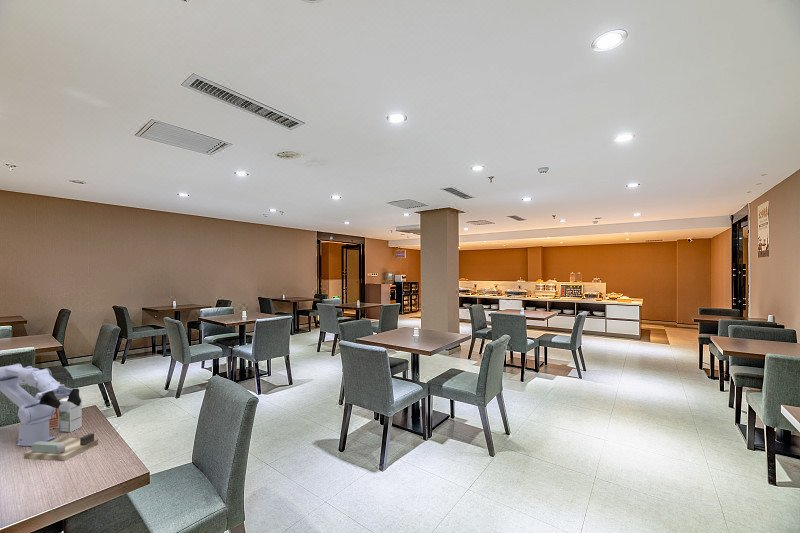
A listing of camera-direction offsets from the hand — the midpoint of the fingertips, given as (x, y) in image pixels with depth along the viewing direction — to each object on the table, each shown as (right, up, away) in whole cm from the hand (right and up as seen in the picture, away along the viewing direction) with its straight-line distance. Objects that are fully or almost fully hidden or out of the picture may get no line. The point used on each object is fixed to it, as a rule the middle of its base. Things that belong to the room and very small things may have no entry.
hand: (69, 404), depth 146 cm
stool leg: (-3, -16, -6) cm, 17 cm away
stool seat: (-2, -18, -1) cm, 19 cm away
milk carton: (-28, -19, +23) cm, 41 cm away
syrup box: (-17, -19, +19) cm, 31 cm away
